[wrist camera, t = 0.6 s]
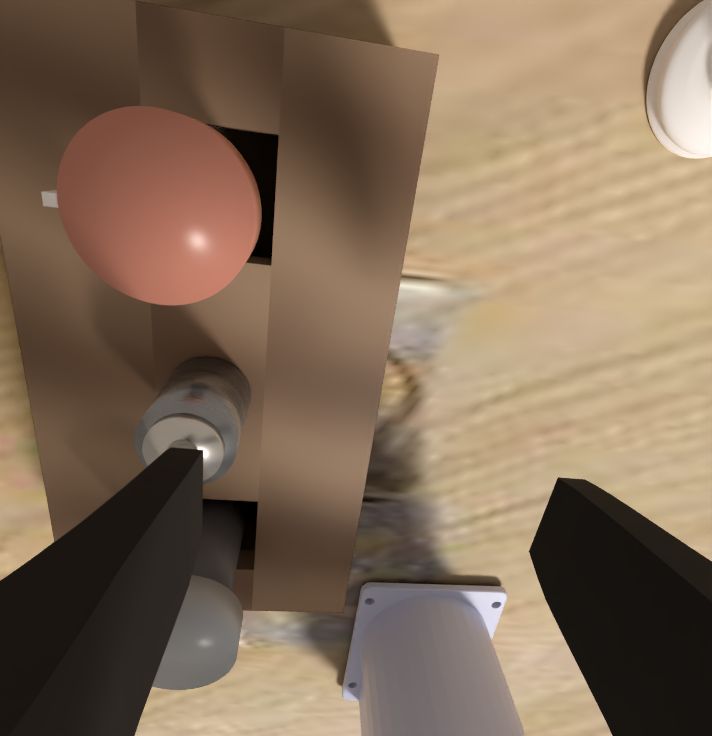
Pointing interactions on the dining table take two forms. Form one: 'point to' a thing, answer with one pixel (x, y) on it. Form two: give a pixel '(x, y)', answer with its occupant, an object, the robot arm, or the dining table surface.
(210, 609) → the knob grey
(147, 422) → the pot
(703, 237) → the dining table surface
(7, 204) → the mount
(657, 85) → the chess piece
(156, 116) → the knob red
